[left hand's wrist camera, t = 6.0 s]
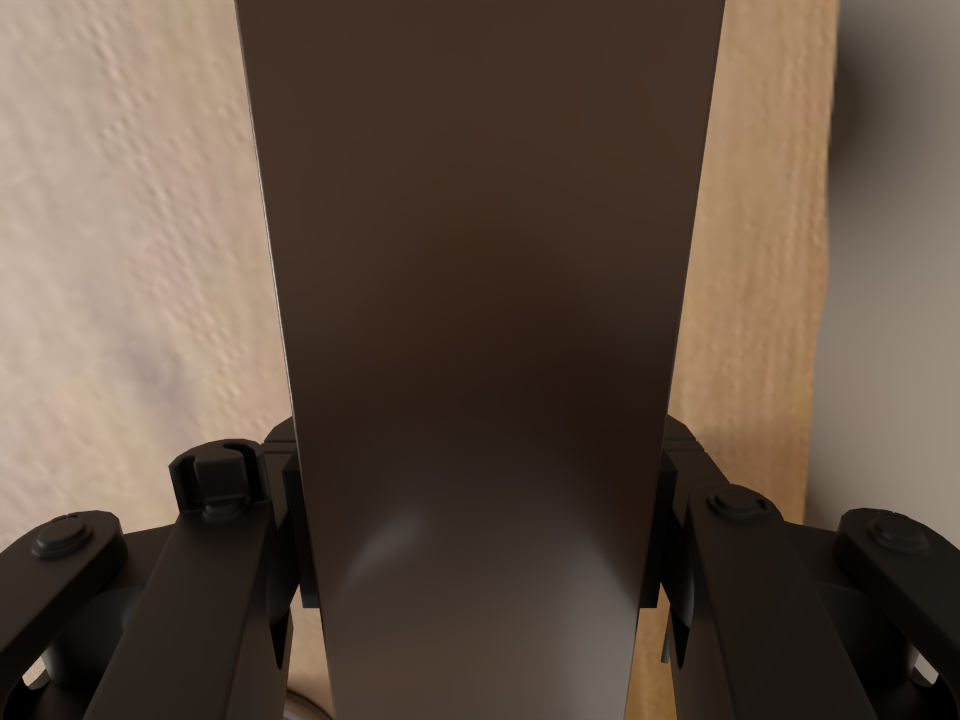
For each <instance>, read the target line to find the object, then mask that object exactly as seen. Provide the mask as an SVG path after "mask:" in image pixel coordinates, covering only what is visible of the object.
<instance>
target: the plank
mask: <svg viewBox="0 0 960 720" xmlns="http://www.w3.org/2000/svg"><path fill="white" fill-rule="evenodd" d="M234 3H235V10H236V17H237V24H238V31H239V38H240V45H241V52H242V60H243V67H244V74H245V81H246V88H247V95H248V102H249V109H250V117H251V124H252V131H253V138H254V145H255V152H256V159H257V166H258V174H259V181H260V188H261V195H262V202H263V209H264V216H265V223H266V231H267V238H268V245H269V252H270V259H271V266H272V273H273V280H274V288H275V295H276V302H277V309H278V316H279V323H280V330H281V337H282V345H283V352H284V359H285V366H286V373H287V380H288V387H289V394H290V402H291V409H292V416H293V423H294V430H295V437H296V444H297V451H298V459H299V466H300V473H301V480H302V487H303V494H304V501H305V508H306V516H307V523H308V530H309V537H310V544H311V551H312V558H313V565H314V573H315V580H316V587H317V594H318V601H319V608H320V615H321V623H322V630H323V637H324V644H325V651H326V658H327V665H328V672H329V680H330V687H331V694H332V701H333V708H334V715H335V720H624V718H625V711H626V704H627V697H628V689H629V682H630V675H631V668H632V661H633V654H634V647H635V640H636V633H637V625H638V618H639V611H640V604H641V597H642V590H643V583H644V576H645V568H646V561H647V554H648V547H649V540H650V533H651V526H652V519H653V512H654V504H655V497H656V490H657V483H658V476H659V469H660V462H661V455H662V448H663V440H664V433H665V426H666V419H667V412H668V405H669V398H670V391H671V383H672V376H673V369H674V362H675V355H676V348H677V341H678V334H679V327H680V319H681V312H682V305H683V298H684V291H685V284H686V277H687V270H688V263H689V255H690V248H691V241H692V234H693V227H694V220H695V213H696V206H697V198H698V191H699V184H700V177H701V170H702V163H703V156H704V149H705V142H706V134H707V127H708V120H709V113H710V106H711V99H712V92H713V85H714V78H715V70H716V63H717V56H718V49H719V42H720V35H721V28H722V21H723V13H724V6H725V0H234Z"/></svg>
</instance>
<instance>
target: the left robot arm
mask: <svg viewBox="0 0 960 720" xmlns="http://www.w3.org/2000/svg"><path fill="white" fill-rule="evenodd" d="M168 467H169V471H170V475H171V479H172V483H173V487H174V491H175V495H176V500H177V504H178V508H179V512H180V514H179V516H178V518H177V520H176V522H175V524H171V525H167V526H163V527H158V528H153V529H148V530H143V531H138V532H133V533H128V534H123V532H122V528H121V525H120V521H119V518H117V517H116V516H115V515H113V514H112V513H111V512H105V511H98V510H94V511H84V512H75V513H70V514H68V515H63V516H60V517H57V518H54V519H52V520H51V521H49V522H47V523H44V524H42V525H40V526H38V527H36V528H34V529H33V530H31V531H29V532H28V533H26V534H25V535H23V536H22V537H20V538H19V539H17V540H16V541H15V542H14V543H13V544H11V545H10V546H9V547H8V548H6V549H5V550H4V551H3V552H2V553H0V720H330V719H329V718H328V717H327V716H326V715H325V714H324V713H323V712H321V711H320V710H319V709H318V708H316V707H315V706H313V705H312V704H310V703H309V702H307V701H305V700H304V699H302V698H300V697H298V696H296V695H294V694H291V693H289V692H287V691H286V688H287V680H288V671H289V663H290V654H291V645H292V637H293V622H292V615H291V609H290V604H291V601H292V599H293V597H294V594H295V592H296V590H297V587H298V585H300V592H301V598H302V605H303V608H319V601H318V594H317V587H316V580H315V573H314V565H313V558H312V551H311V544H310V537H309V530H308V523H307V516H306V508H305V501H304V494H303V487H302V480H301V473H300V466H299V459H298V451H297V444H296V437H295V430H294V423H293V416H291V417H290V418H288V419H287V420H285V421H283V422H282V423H280V424H279V425H277V426H275V427H274V428H273V429H272V431H271V432H270V433H269V435H268V436H267V437H266V439H265V440H264V443H262V444H261V445H260V444H258V443H257V442H256V441H251V440H247V439H224V440H218V441H213V442H208V443H205V444H203V445H200V446H197V447H194V448H191V449H190V450H188V451H186V452H184V453H183V454H181V455H179V456H178V457H176V458H175V460H174V461H173V462H172V463H171V464H170V465H169V466H168ZM660 583H662V585H663V588H664V590H665V593H666V595H667V597H668V600H669V602H670V609H669V615H668V621H667V627H666V633H665V639H664V645H663V651H662V658H661V662H662V663H667V664H668V660H669V655H670V661H671V670H672V679H673V687H674V696H675V704H676V713H677V720H960V550H958V549H957V548H956V547H955V546H954V545H952V544H951V543H950V542H949V541H947V540H946V539H945V538H944V537H943V536H941V535H939V534H938V533H936V532H935V531H933V530H932V529H930V528H929V527H927V526H926V525H924V524H922V523H919V522H917V521H915V520H913V519H910V518H909V517H907V516H905V515H902V514H899V513H896V512H895V513H893V512H892V511H888V510H883V509H870V508H859V509H853V510H849V511H848V512H846V513H845V514H844V515H842V516H841V520H840V523H839V527H838V530H837V532H834V531H829V530H824V529H818V528H813V527H808V526H803V525H798V524H794V523H790V522H786V521H784V519H783V517H782V515H781V513H780V511H779V510H778V509H777V508H776V506H775V505H774V504H773V503H772V502H771V501H770V500H768V499H767V498H765V497H764V496H762V495H761V494H759V493H758V492H755V491H753V490H750V489H748V488H745V487H743V486H739V485H735V484H730V483H729V481H728V480H727V479H726V477H725V476H724V475H723V473H722V472H721V471H720V469H719V468H718V467H717V466H716V464H715V463H714V462H713V460H712V459H711V458H710V456H709V455H708V454H707V453H706V452H704V449H703V447H702V446H701V445H700V443H699V442H698V441H696V438H695V437H694V436H693V434H692V433H691V432H690V430H689V429H688V428H687V426H686V425H684V424H683V423H681V422H679V421H678V420H676V419H675V418H673V417H671V416H670V415H668V414H667V419H666V426H665V433H664V440H663V448H662V455H661V462H660V469H659V476H658V483H657V490H656V497H655V504H654V512H653V519H652V526H651V533H650V540H649V547H648V554H647V561H646V568H645V576H644V583H643V590H642V597H641V604H640V608H657V602H658V596H659V589H660ZM919 653H921V655H922V656H923V657H924V658H925V659H926V660H927V661H928V662H929V663H930V665H931V666H932V667H933V668H934V669H935V670H936V671H937V672H938V673H939V675H938V677H937V679H936V682H935V683H934V684H931V683H930V682H929V681H928V680H927V679H925V678H924V677H923V676H922V674H921V673H920V672H919V671H918V670H917V669H916V667H915V666H914V665H915V663H916V660H917V658H918V656H919ZM40 656H41V657H42V659H43V662H44V664H45V667H46V669H45V670H44V671H43V672H42V674H41V675H40V676H39V677H38V678H37V679H36V680H35V681H34V682H33V683H31V684H30V685H29V686H27V685H25V683H24V681H23V678H22V676H23V675H24V674H25V673H26V671H27V670H28V669H29V668H30V667H31V666H32V665H33V664H34V663H35V661H36V660H37V659H38V658H39V657H40Z"/></svg>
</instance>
